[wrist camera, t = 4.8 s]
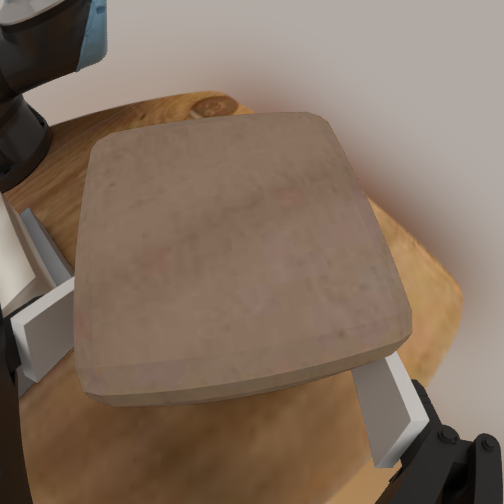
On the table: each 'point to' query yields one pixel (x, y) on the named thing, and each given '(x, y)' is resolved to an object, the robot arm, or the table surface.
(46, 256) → the tower base
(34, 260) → the tower top
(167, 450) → the table surface
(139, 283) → the block
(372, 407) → the robot arm
